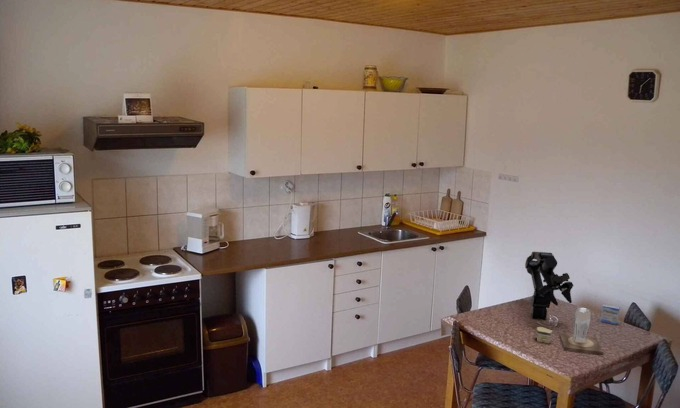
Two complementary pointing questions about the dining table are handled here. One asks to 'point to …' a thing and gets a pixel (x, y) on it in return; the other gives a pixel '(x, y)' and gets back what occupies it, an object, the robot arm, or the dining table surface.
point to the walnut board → (581, 345)
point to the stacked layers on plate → (543, 335)
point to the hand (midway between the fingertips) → (564, 304)
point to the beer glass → (581, 324)
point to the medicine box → (610, 314)
